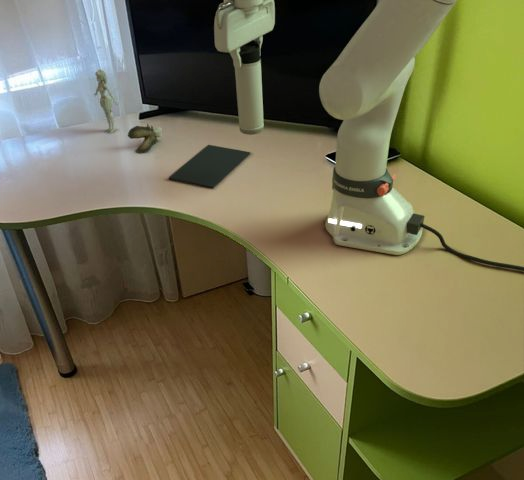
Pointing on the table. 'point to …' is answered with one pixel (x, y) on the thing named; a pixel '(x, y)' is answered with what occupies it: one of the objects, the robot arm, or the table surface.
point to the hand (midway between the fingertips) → (247, 62)
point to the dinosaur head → (145, 136)
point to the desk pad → (209, 166)
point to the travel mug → (250, 90)
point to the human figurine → (105, 98)
